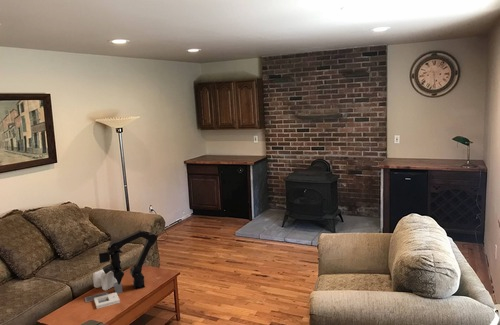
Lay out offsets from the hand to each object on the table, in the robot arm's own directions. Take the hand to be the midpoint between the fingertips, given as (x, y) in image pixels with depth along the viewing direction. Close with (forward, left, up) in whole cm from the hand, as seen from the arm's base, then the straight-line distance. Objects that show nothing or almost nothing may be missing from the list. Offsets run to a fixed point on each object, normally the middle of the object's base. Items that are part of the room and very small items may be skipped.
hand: (117, 281), depth 268 cm
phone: (+14, 0, -8) cm, 16 cm away
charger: (0, 0, -7) cm, 7 cm away
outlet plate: (+9, +10, -7) cm, 15 cm away
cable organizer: (+5, -13, -8) cm, 16 cm away
